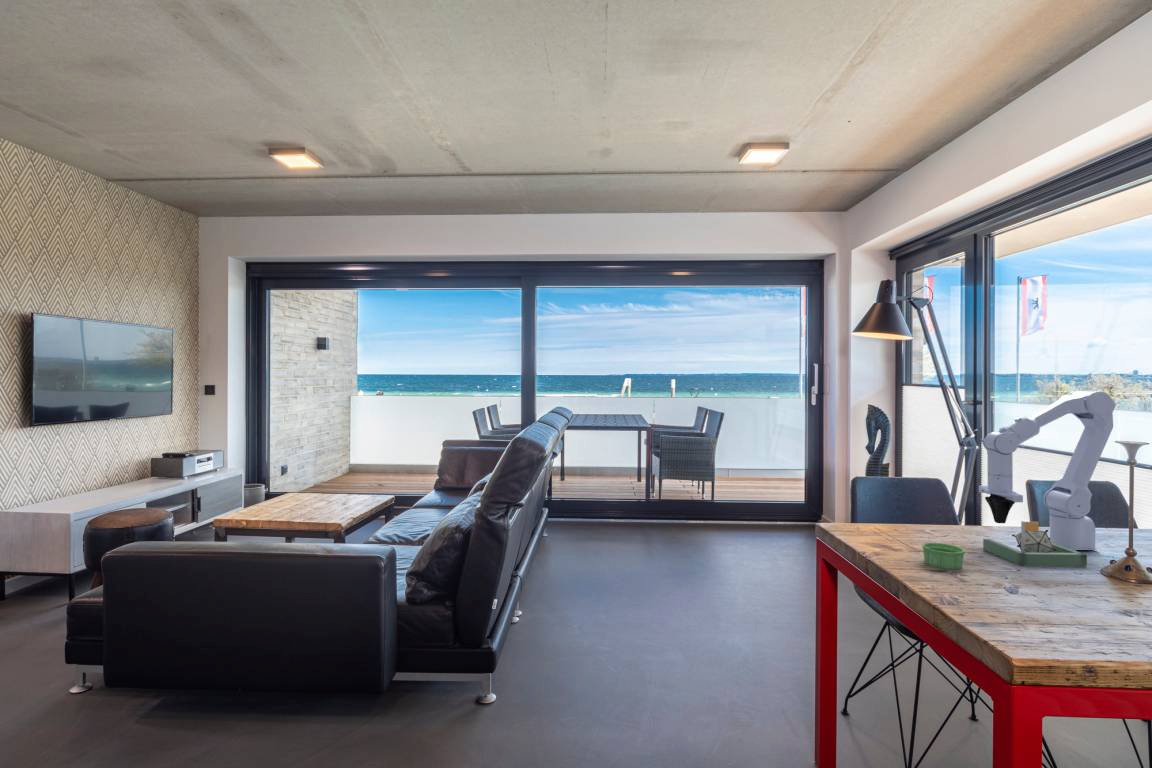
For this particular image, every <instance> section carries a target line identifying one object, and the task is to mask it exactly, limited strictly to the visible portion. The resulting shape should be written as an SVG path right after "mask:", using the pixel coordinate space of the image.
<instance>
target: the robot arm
mask: <svg viewBox="0 0 1152 768" xmlns="http://www.w3.org/2000/svg"><path fill="white" fill-rule="evenodd" d="M1116 406H1117V404H1116V402H1115V401H1114V400H1113V398H1112V397H1111V396H1110V394H1108V393H1107V392H1105V391H1102V390H1101V391H1080V390H1073V391H1070V392H1068V393H1067V394H1064V395H1062V396H1060V397H1059V398H1058V400H1056V401H1055V402H1053V403H1051V404H1049V406H1047V407H1045V408H1044V409H1042V410H1040V411H1039V412H1037V413H1035V414H1034V415H1032V416H1031V417H1028V416H1022V417H1019V416H1018V417H1016V418H1014V421H1013V422H1012V423H1010V424H1008V425H1006V426H1004V427H1003V426H1002V427H999V428H998V431H991V432H989V433H988V434H986V436H985V437H984V440H982V446H983V447H984V449H985V450H986V454H987V485H979V486H978V493H981V494H983V493H984V494H986V495H989V496H985V497H984V500H985V501H986V502H987V504H988V506H989V508H990V511H991V514H992V517H993V521H994V523H997V524H1006V522H1007V520H1008V517H1009V513H1010V511H1011V509H1012V507H1013V506H1014V504H1015V503H1023V502H1024V495H1023V494H1020V493H1018V492H1015V491H1014V490H1013V488H1014V485H1013V480H1014V478H1013V477H1014V476H1013V469H1014V467H1013V465H1014V464H1013V463H1014V462H1013V461H1014V459H1013V453H1014V452H1016V451H1017V449H1018V447H1019V445H1021V444H1023V443H1024V442H1027V441H1028V440H1030V439H1032V438H1033V437H1035V436H1037V435H1039V433H1040V430H1041V428H1042V427H1044V426H1046V425H1048V424H1050V423H1052V422H1054V421H1056V420H1058V419H1060V418H1062V417H1064V416H1066V415H1068V414H1072V415H1073V416H1075V418H1077V419H1078V420H1079V421H1080V422H1081V423H1082V425H1083V428H1084V429H1083V431H1082V433H1081V435H1080V438H1079V440H1078V442H1077V443H1076V445H1075V449H1074V451H1073V453H1072V456H1071V457H1070V460H1069V462H1068V465H1067V467H1066V469H1065V471H1064V473H1063V476H1062V478H1060V479H1059V480H1057V481H1055V482H1054V483H1053V484H1052V486H1051V488H1050V489H1048V490H1047V491H1046V492H1045V493H1044V496H1043V503H1044V505H1045V506H1046V508H1048V513H1049V538H1051V539H1050V542H1052V543H1054V544H1057V545H1060V546H1063V547H1066V548H1069V549H1072V550H1098V548H1096V525H1095V522H1094V521H1093V519H1092V518H1091V517H1089V516H1087V515H1088V514H1089V513H1090V511H1091V506H1092V505H1091V499H1092V497H1093V494H1092V492H1091V491H1090V489H1089V487H1088V486H1089V483H1090V481H1091V479H1092V477H1093V475H1094V471H1095V470H1096V467H1097V465H1098V463H1099V461H1100V459H1101V456H1102V453H1103V452H1104V450H1105V447H1106V444H1107V443H1108V440H1109V438H1110V435H1111V433H1112V431H1113V430H1114V429H1113V428H1114V417H1113V416H1114V415H1113V413H1114V410H1115V408H1116ZM1098 551H1099V550H1098Z"/></svg>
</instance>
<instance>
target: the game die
mask: <svg viewBox="0 0 1152 768" xmlns="http://www.w3.org/2000/svg"><path fill="white" fill-rule="evenodd" d="M1048 532H1049V529H1046V530H1041V529H1039V531H1025V552H1032V553H1047V552H1049V551H1051V550H1055V551H1057V549H1054V548H1053V546H1052V544H1051V542H1050V539H1051V538H1050V536H1049V535H1048ZM1011 536H1012V537H1014V538H1015V539H1016V542H1017V546H1016V547H1017V548H1019V549H1020V550H1021V532H1019V533H1018V534H1011Z"/></svg>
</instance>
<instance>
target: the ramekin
mask: <svg viewBox="0 0 1152 768" xmlns="http://www.w3.org/2000/svg"><path fill="white" fill-rule="evenodd" d="M921 548H922V549H923V561H924V562H925V564H926V565H929V566H931V567H935V568H939V569H943V568H944V570H959V568H960V569H962V567H963V562H964V561H963V560H964V555H965V549H964V548H962V547H959V546H957V545H953V544H949V543H948V544H947V543H942V542H924V543H922V547H921Z"/></svg>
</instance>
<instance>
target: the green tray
mask: <svg viewBox="0 0 1152 768" xmlns="http://www.w3.org/2000/svg"><path fill="white" fill-rule="evenodd" d="M1020 522H1021V524H1020V525H1021V527H1020V528H1021V531H1020V533H1021V549H1020V550H1019V549H1016V548H1013V547H1011V546H1008V545H1006V544H1002V543H1000V542H997V541H996V540H993V539H990V538H983V541H982V545H983V546H982V549H984V550H983V551H985V550H986V552H987V551H988V553H990V552H991V553H990V554H992V553H993V555H995V556H997V555H998V556H997V557H999V556H1000V558H1001V559H1002V558H1003V559H1005V560H1006V559H1007V560H1006V561H1008V562H1009V561H1010V562H1011V561H1012V562H1011V563H1013V562H1014V564H1016V563H1017V564H1016V565H1018V564H1019V566H1020V567H1066V566H1087V567H1088V555H1087V554H1086V553H1084V552H1082V551H1075V550H1072V549H1069V548H1066V547H1063V546H1060V545H1057V544H1054V543H1052V542H1051V544H1052V546H1053V548H1054V549H1057V551H1055V550H1051V551H1049V552H1047V553H1032V552H1025V531H1039V530H1040V529H1039V528H1040V525H1039V521H1024V520H1022V521H1020Z"/></svg>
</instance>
